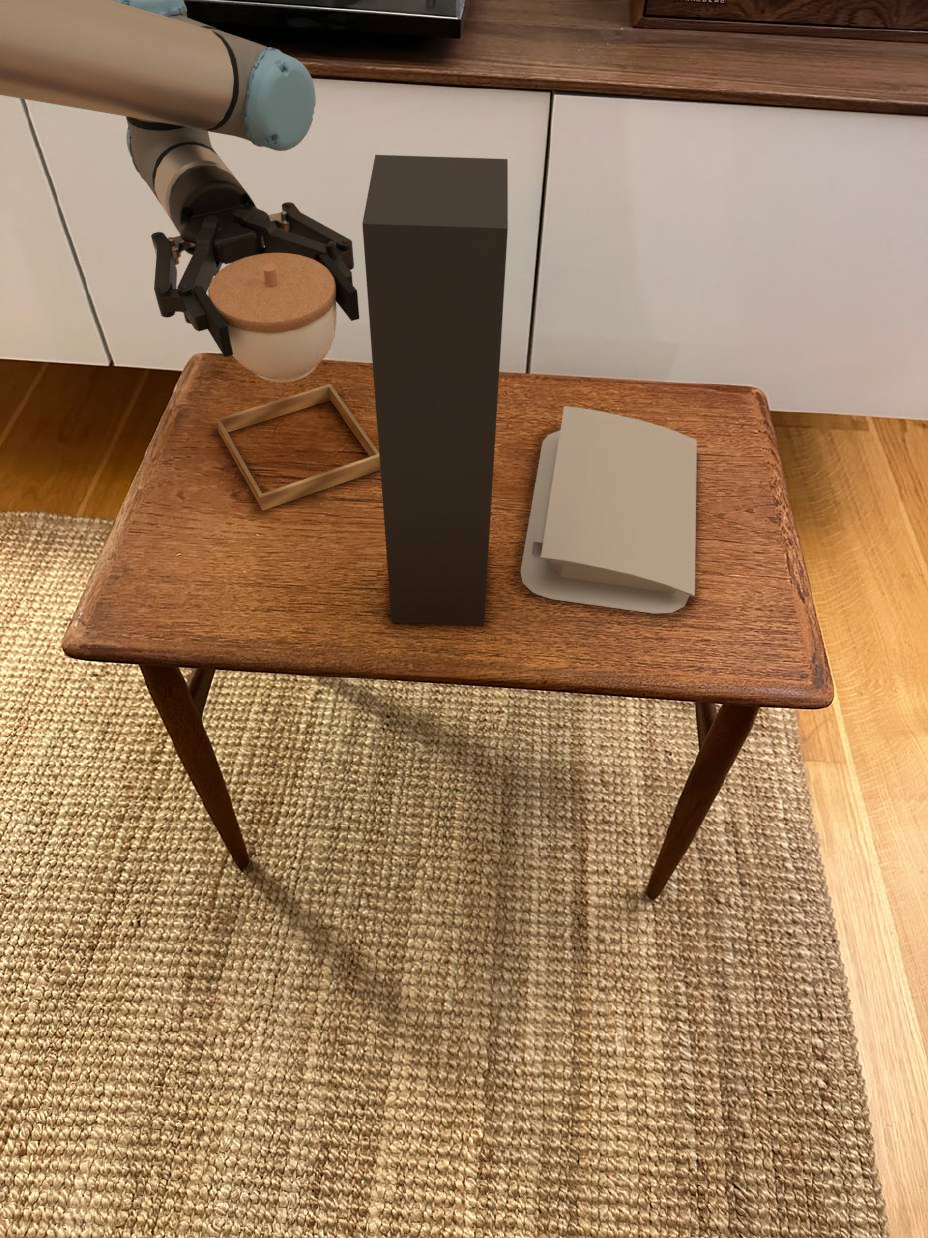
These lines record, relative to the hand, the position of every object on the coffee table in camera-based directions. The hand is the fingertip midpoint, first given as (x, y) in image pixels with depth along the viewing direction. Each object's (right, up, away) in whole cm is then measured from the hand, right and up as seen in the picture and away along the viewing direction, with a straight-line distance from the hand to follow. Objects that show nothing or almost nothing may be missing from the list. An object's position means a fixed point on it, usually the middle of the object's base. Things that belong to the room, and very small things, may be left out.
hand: (291, 323), depth 75 cm
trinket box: (-2, -1, +7) cm, 8 cm away
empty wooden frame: (-2, -8, +16) cm, 18 cm away
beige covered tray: (+29, -15, +11) cm, 34 cm away
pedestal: (+12, -22, +5) cm, 26 cm away
